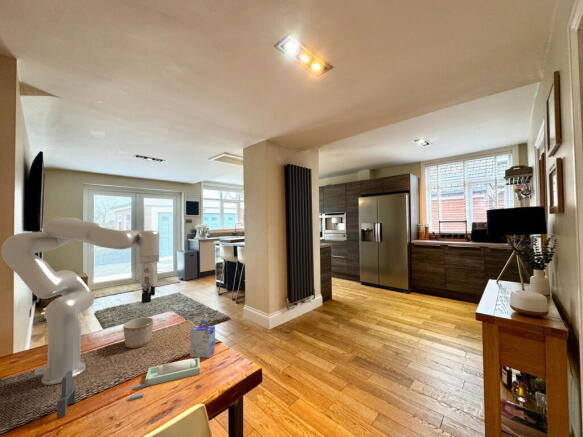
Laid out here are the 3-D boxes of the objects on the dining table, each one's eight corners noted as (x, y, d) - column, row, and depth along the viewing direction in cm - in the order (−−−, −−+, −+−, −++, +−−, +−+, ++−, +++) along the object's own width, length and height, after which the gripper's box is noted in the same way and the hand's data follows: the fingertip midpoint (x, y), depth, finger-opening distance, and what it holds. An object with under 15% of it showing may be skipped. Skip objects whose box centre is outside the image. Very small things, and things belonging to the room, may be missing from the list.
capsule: (156, 380, 89) (156, 371, 89) (157, 371, 93) (157, 363, 92) (195, 371, 94) (195, 362, 94) (195, 363, 98) (195, 355, 97)
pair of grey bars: (129, 400, 79) (129, 398, 79) (134, 387, 85) (134, 385, 85) (143, 397, 81) (143, 394, 81) (146, 384, 87) (146, 382, 87)
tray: (145, 386, 86) (145, 379, 86) (149, 373, 93) (149, 367, 93) (199, 373, 93) (199, 367, 93) (199, 362, 100) (199, 357, 101)
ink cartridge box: (215, 351, 109) (215, 320, 110) (210, 358, 104) (210, 326, 104) (195, 350, 110) (196, 319, 111) (189, 357, 105) (189, 325, 105)
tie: (56, 417, 72) (57, 381, 72) (68, 402, 78) (68, 368, 78) (65, 415, 73) (65, 380, 73) (75, 400, 79) (76, 367, 79)
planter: (117, 346, 114) (117, 325, 114) (142, 335, 125) (142, 315, 125) (134, 352, 109) (134, 330, 109) (158, 339, 120) (158, 319, 121)
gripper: (155, 261, 93) (155, 304, 93) (161, 256, 109) (161, 292, 109) (133, 263, 90) (133, 307, 90) (143, 256, 106) (142, 294, 106)
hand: (148, 298), depth 99 cm, fingers open, 9 cm apart
